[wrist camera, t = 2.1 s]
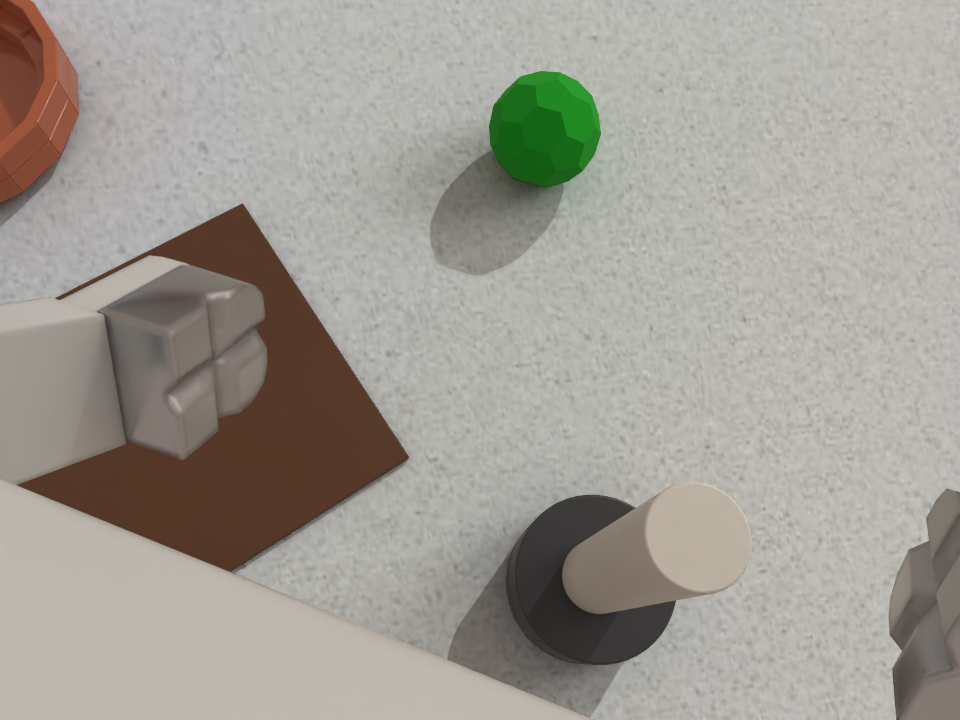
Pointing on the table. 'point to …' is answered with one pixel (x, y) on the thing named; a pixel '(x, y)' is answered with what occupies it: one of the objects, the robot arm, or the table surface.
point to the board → (244, 428)
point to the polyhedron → (544, 128)
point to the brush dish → (32, 96)
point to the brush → (622, 569)
